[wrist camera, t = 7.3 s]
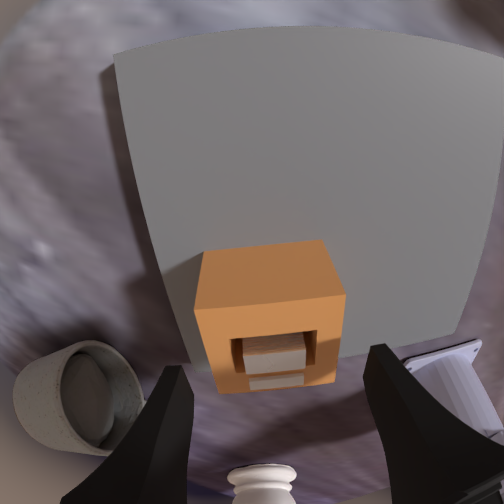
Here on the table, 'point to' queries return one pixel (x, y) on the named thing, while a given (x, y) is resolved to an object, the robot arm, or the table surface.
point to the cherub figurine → (262, 484)
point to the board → (320, 165)
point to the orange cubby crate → (270, 311)
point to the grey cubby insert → (274, 353)
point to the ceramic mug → (79, 398)
